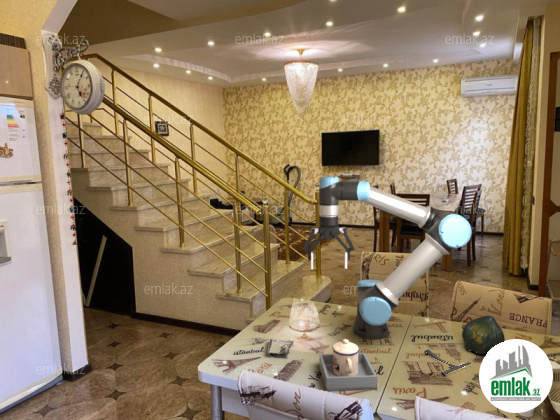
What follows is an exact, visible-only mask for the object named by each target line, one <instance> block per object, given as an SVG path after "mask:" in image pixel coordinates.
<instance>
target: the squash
mask: <svg viewBox="0 0 560 420" xmlns="http://www.w3.org/2000/svg"><path fill="white" fill-rule="evenodd" d="M462 340H463V342H464V344H465V348H466V349H467V350H468V351H469V350H470V352H471V351H476V352H475V353H476V354H478V355H483V354H486V353H487V352H488V351H489V350H490V349H491V348H492V347H494V346H495V345H497V344H499V343H501V342H504V341H505V342H506V340H505V334H504V331H503V329H502V328H501V326H500V325H499V323H498V322H497V320H496V318H495V317H494V316H493V315H484V316H480V317H477V318H474V319H472V320H470V321H468V322H466V324H465V325H464V327H463V329H462ZM484 352H485V353H484Z"/></svg>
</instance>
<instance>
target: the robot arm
mask: <svg viewBox="0 0 560 420" xmlns="http://www.w3.org/2000/svg"><path fill="white" fill-rule="evenodd" d="M318 200H319V202H318V203H319V207H318V208H319V210H318V211H319V212H318V214H319V215H320V216H319V218H318V219H319V222H318V224H319V226H318V228H315V227H310V228H311V229H310V233H309V236H308V238H307V240H306V242H305V244H304V246H303V249H302V250H303V251H304V252H306V253H307V261H310V269H311V270H314V252H313V251H314V250H315V248H316V247H317V246H318V245H319V244H320V243H321V242H322V241H323V240H333V239H334V240H335V239H336V241H337V242H339V244H340V245H341V246H342V247H343V249H344V250H345V251H343V268H344V269H346V270H347V269H348V261H349V260H350V259H351V257H350V256H351V252H352V251H355V247H354V245H353V242H352V240H351V239H350V237H349V235H348V232H347V228H346V227H345V226H343V227H339V216H338V215H339V202H340V201H341V202H342V201H347V202H348V201H351V202H352V201H353V202H361V203H364V204H367V205H369V206H371V207H374V208H376V209H379V210H381V211H384V212H386V213H389V214H392V215H394V216H396V217H399V218H401V219H403V220H407V221H409V222H411V223H414V224H416V225H418V227H419V228H420V229H423V230H425V231H426V232H425V233H424V234H425V235H424V236H425V237H424V240H423V241H422V242H421V243H420V244H419V245H418V246H417V247H416V248H415V249H414V250H413V251H412V252H411V254H409V255H408V256H407V257H406V258H405V259H404V260H403V261H402V262H401V263H400V264H399V265H398V266H397V267H396V268H395V269H394V270H393V271H392V272H391V273H390V274H389V275H388V277H386V278H385V279H384V280H378V279H361V280H358V282H357V286H356V288H357V292H356V293H357V294H356V295H357V296H356V299H357V301H356V303H357V304H356V306H357V307H356V312H357V313H356V317H355V319H354V321H353V324H352V333H353V334H355V335H356V336H357V337H359V338H362V339H366V340H381V339H384V338H386V337H388V336H387V335H389V326H388V321H389V320H390V319H391V316H392V312H393V311H394V310H395V309H396V308H397V307H398V306H399V304H400V303H399V300H400V298H401V297H402V296H403V295H404V294H405V293H406V292H408V290H409V289H410V288H411V287H412V286H413V285H414V284H415V283H416V282H417V281H418V280H419V279H420V278H421V277H422V276H423V275H424V274H425V273H426V272H427V271H428V270H429V269H430V268H431V267H433V265H434V264H436V263H437V262H438V261H439V260H440V258H442V257H443V256H444V255H450V254H451V253H453V252H454V250H455V249H458V248H462V247H464V246H465V245H467V244H468V243H469V241H470V240H471V238H472V231H473V230H472V226H471V224H470V223H469V221H468V220H467V219H466V218H464V217H463V216H462V215H460V214H456V213H454V212H452V211H448V210H444V209H443V210H442V209H438V208H435V207H433V206H430V205H427V206H423V205H421V204H417V203H416V202H413V201H411V200H408V199H405V198H402V197H400V196H398V195H395V194H392V193H390V192H387V191H384V190H383V189H380V188H378V187H377V188H376V187H375V186H372V185H370V182H369V181H365V180H364V181H363V180H359V179H358V180H357V179H354V178H353V179H349V180H347V181H343V180H342V181H341V180H339V177H338V176H335V175H334V176H329V175H328V176H326V175H325V176H321V177H320V178H319V185H318ZM317 233H318V234H319V235H318V237H317V238H316V239H315V241H313V239H314V237H315V235H316V234H317ZM339 233H341V234H342V235H343V236H344V239H345V240H346V242H347V245H348V246H347V245H346V244H345V243H344V242H343V240H342V239H341V238H340V237H339V235H338V234H339ZM312 241H313V243H312ZM311 243H312V244H311Z"/></svg>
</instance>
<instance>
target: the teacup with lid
mask: <svg viewBox="0 0 560 420" xmlns="http://www.w3.org/2000/svg"><path fill="white" fill-rule="evenodd" d="M358 353H360V349H359V346H358V345H357V344H356V343H353V342H351V341H349V339H346V338H344V339H342V341H338V342H336V343H334V344H333V346H332V354H333V372H334V373H335V374H336V375H337V376H339V377H341V376H356V375H357V374H358Z"/></svg>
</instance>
